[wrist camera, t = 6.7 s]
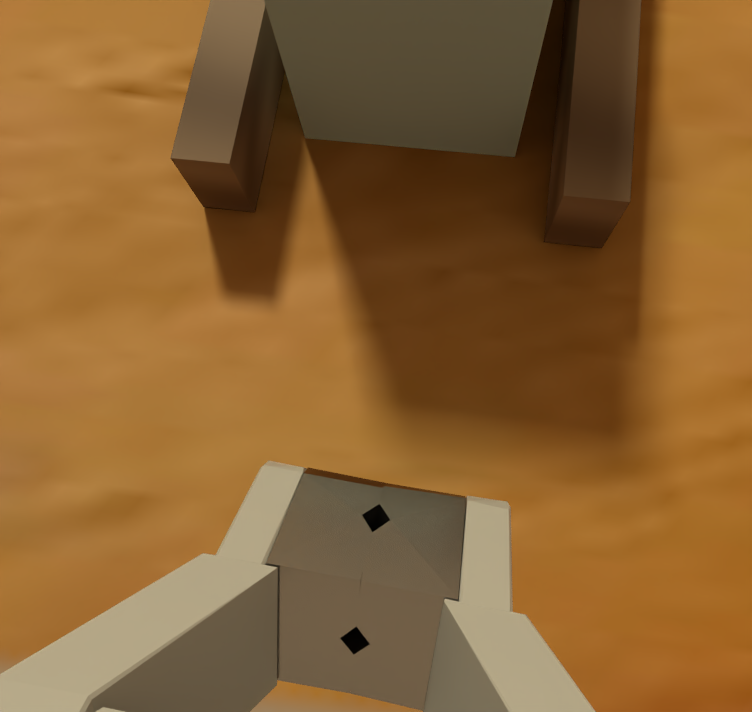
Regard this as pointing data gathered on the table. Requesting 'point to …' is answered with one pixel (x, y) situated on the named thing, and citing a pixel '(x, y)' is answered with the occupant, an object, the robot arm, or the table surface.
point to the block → (412, 70)
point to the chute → (571, 133)
